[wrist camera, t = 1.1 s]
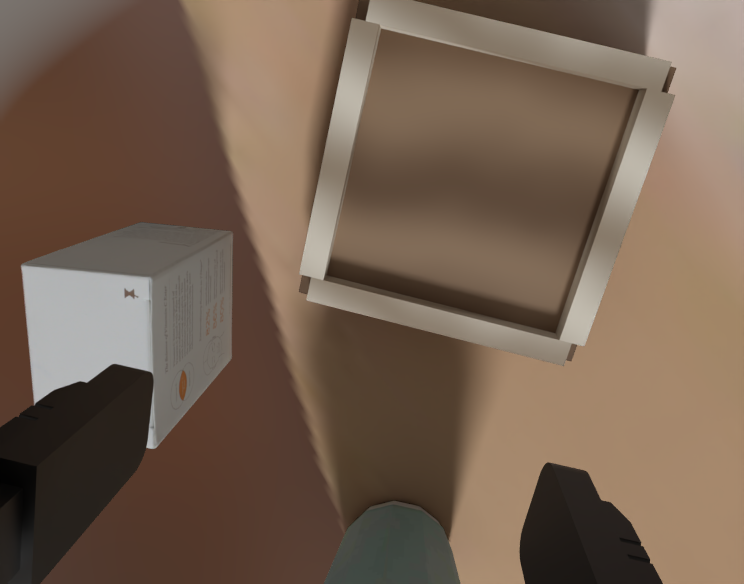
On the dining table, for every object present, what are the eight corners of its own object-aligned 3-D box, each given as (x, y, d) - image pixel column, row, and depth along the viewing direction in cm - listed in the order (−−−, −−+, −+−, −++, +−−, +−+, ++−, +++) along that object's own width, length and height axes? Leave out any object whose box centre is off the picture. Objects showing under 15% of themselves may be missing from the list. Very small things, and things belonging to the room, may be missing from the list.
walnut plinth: (370, 11, 29) (357, -13, 25) (643, 76, 29) (686, 65, 24) (313, 273, 33) (294, 297, 28) (554, 334, 33) (575, 369, 28)
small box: (141, 219, 34) (15, 257, 23) (236, 229, 33) (151, 272, 23) (144, 350, 36) (30, 436, 26) (233, 361, 35) (154, 453, 25)
